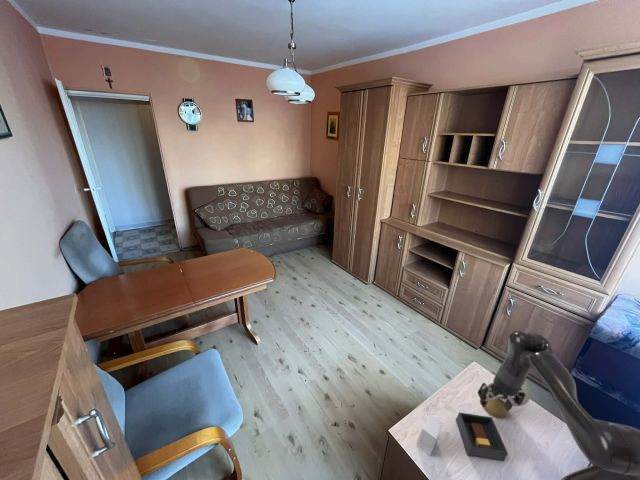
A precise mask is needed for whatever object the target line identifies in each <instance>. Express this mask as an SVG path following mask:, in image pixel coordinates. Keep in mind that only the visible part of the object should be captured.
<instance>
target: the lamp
mask: <svg viewBox="0 0 640 480" xmlns="http://www.w3.org/2000/svg"><path fill="white" fill-rule="evenodd" d="M493 382H494V379H493V381H492V382H491V383H489V384H488V385H487V386H491V385H492V384H493ZM521 388H522V390H523V392H524V393H525V395H526V396H525V398H524V400H523V402H522V404H521V405H518V404H515V405H513V406H512V407H522V406H526V404H528V403H529V402H530V399H531V395H532V391H531V388H530V385H529V383H528V382H527V381H526V380H525V382H524V384H523V385H522V387H521ZM491 394H492V396H494V394H493V392H491ZM486 396H487V397H489V395H486ZM514 397H515V396H512V398H514ZM506 400H507V399H502V398H497V399H495V400H492V399H491V400H489V401H488V402H487V404H486V406H485V407H482V408H483V409H484V411H486V412H487V413H488V414H489V415H490V416H491V417H494V418H496V419H505V418H506V417H507V415H508V414H509V412H510V410H509V411H507V410H506V409H505V407H504V404H505V402H506Z"/></svg>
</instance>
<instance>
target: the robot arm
mask: <svg viewBox="0 0 640 480" xmlns="http://www.w3.org/2000/svg"><path fill="white" fill-rule="evenodd" d="M531 370H533V372H535V374H536V376H538V378H539V379H540V381H541V383H543V385H544V386H545V388H546V390H547V391H548V392H549V394H550V396H551V397H552V399H553V401H554V403H555V405H556V407H557V409H558V411H559V413H560V415H561V417H562V419H563V421H564V423H565V424H566V427H567V429H568V431H569V432H570V434H571V436H572V438H573V440H574V442H575V444H576V445H577V447H578V449H579V450H580V451H581V453H582V454H583V456H584V457H585V458H586V459H587V461H589V462H590V463H591V464H592V465H589V466H586V467H584V468H581V469H578V470H576V471H573V472H571V473H568V474H567V475H565V476H564V477H562V478H561V479H560V480H640V429H638V428H636V427H633V426H629V425H626V424H622V423H617V422H612V421H608V420H603V419H595V418H594V417H592V415H590V414H589V413H588V412H587V411H586V410H585V408H584V407H582V405H581V403H579V400H578V395H577V392H578V391H577V385H576V381H575V379H574V377H573V375H572V374H571V373H570V371H569V370H568V369H567V368H566V366H564V364H563V363H562V362H561V361H560V360H559V359H558V358H557V356H556V354H555V351H554V349H553V347H552V345H551V343H550V341H549V339H547V338H546V337H545V336H543V335H542V334H539V333H534V332H527V331H522V330H521V331H520V330H515V331H512V332H511V333H510V334H509V336H508V339H507V352H506V356H505V358H504V360H503V362H502V363H501V364H500V366H499V368H498V370H497V372H496V374H495V376H494V378H493V380H494V382H493V381H492V383H493V384H492V385H491V386H488V385H487V383H486V382H483V383H482V384H481V385H480V387H479V389H478V391H477V395H478V397H479V403H480V405H481V407H482V408H483V407H485V406H486V404H487V402H488V401H489V400H491V399H492V400H495V399H497V398H502V399H507V400H506V402H505V404H504V407H505V409H506V410H507V411H509V412H510V411H511V409H512V408H513V407H514V406H513V405H515V404H518V405H521V404H522V402H523V400H524V398H525V396H526V395H525V393H524V392H523V390H522V388H521V387H522V385H523V384H524V382H525V381H526V379H527V377H528V375H529V374H530V372H531ZM491 392H493V394H494V396H492V394H491ZM486 395H489V397H487V396H486ZM512 396H515V397H514V398H512Z"/></svg>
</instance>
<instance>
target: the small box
mask: <svg viewBox="0 0 640 480" xmlns="http://www.w3.org/2000/svg"><path fill="white" fill-rule="evenodd" d="M443 425H444V424H443V422H441V421H440V420H438V419H437V418H436V417H434V416H432V415H431V414H430V413H428V414H427V415H426V418H425V420H424V423H423V425H422V427H421V431H420V434H419V436H418V439H417V442H416V444H415V446H416V447H417V448H419V449H420V450H421V451H422V452H424V454H427V456H429V457H431V455H432V453H433V450H434V448H435V445H436V443H437V441H438V438H439V436H440V433H441V430H442V428H443Z"/></svg>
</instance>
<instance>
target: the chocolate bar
mask: <svg viewBox="0 0 640 480" xmlns="http://www.w3.org/2000/svg"><path fill="white" fill-rule="evenodd" d="M469 427H470V430H471V432H472V435H473V438H474V440H475V443H476V446H477V447H481V448H487V449H491V446H490V443H489V441H488V439H487V437H486V434H485V432H484V429H483V427H482V424H477V423H471V424H470V426H469Z"/></svg>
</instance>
